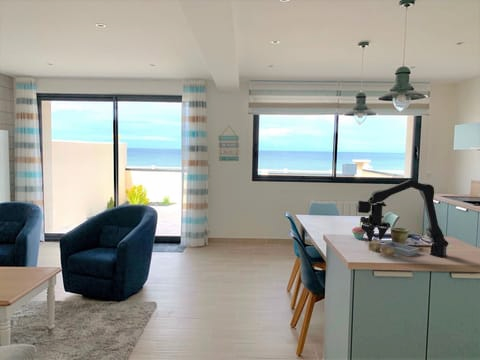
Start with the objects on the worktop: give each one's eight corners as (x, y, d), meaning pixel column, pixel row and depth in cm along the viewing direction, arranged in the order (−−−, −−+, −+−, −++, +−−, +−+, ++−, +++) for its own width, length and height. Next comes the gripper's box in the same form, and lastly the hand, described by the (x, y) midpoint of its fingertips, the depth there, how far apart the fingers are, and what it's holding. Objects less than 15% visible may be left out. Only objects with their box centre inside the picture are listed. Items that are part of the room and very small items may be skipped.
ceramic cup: (411, 248, 196) (412, 231, 195) (393, 247, 196) (395, 230, 195) (400, 242, 209) (401, 226, 208) (384, 241, 209) (385, 226, 208)
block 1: (380, 251, 188) (380, 243, 188) (375, 252, 185) (375, 244, 185) (373, 249, 192) (373, 241, 191) (368, 250, 189) (368, 242, 189)
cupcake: (354, 235, 222) (355, 218, 222) (367, 238, 217) (368, 220, 216) (349, 238, 216) (350, 219, 215) (362, 240, 210) (364, 221, 210)
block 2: (393, 255, 180) (394, 247, 179) (388, 257, 177) (388, 248, 177) (385, 253, 183) (386, 245, 183) (380, 254, 181) (381, 246, 181)
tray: (418, 253, 184) (419, 248, 184) (407, 256, 178) (407, 251, 178) (392, 246, 198) (392, 241, 197) (380, 249, 192) (381, 243, 192)
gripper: (374, 210, 199) (372, 235, 200) (353, 212, 189) (352, 239, 190) (391, 213, 189) (389, 240, 191) (370, 215, 179) (369, 244, 180)
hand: (375, 240), depth 188 cm, fingers open, 9 cm apart
